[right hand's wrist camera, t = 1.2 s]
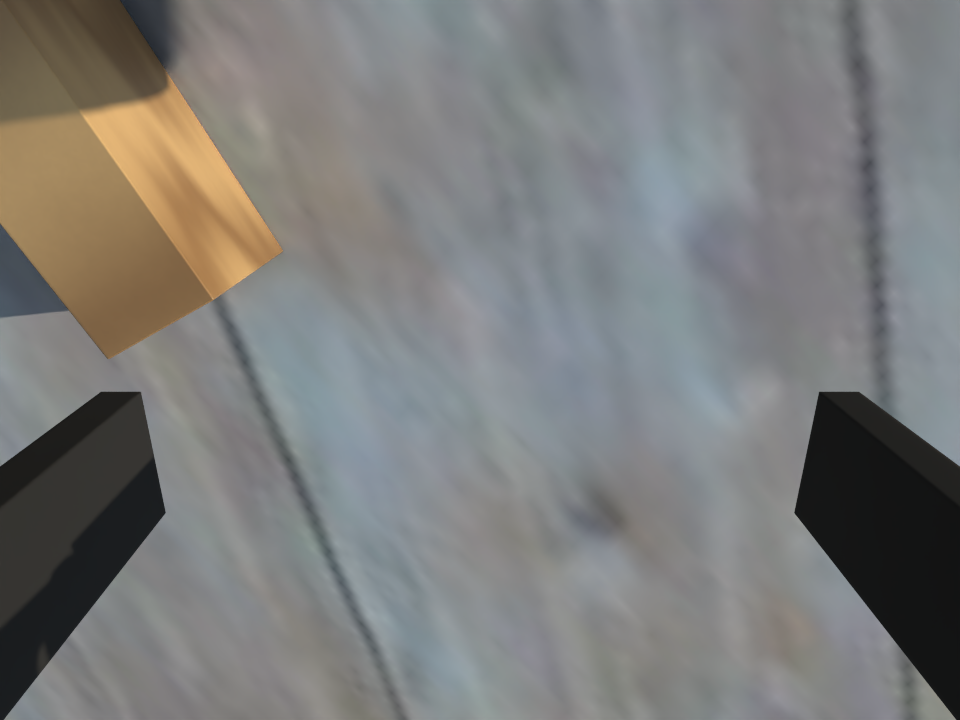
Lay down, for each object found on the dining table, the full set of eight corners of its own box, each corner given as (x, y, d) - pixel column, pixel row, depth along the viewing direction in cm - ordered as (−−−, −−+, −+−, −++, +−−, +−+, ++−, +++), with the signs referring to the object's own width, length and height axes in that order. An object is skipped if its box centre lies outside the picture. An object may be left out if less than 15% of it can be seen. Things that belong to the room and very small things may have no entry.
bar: (283, 251, 32) (214, 299, 24) (202, 297, 33) (107, 360, 25) (-75, -301, 25) (-365, -519, 16) (-169, -223, 26) (-491, -392, 17)
